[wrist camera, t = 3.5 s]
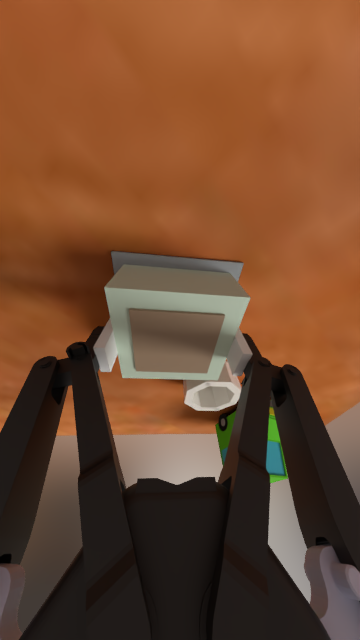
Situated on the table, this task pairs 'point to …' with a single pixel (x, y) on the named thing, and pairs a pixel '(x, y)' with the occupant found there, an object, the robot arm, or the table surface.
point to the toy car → (274, 448)
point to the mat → (175, 263)
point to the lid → (174, 321)
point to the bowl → (213, 391)
